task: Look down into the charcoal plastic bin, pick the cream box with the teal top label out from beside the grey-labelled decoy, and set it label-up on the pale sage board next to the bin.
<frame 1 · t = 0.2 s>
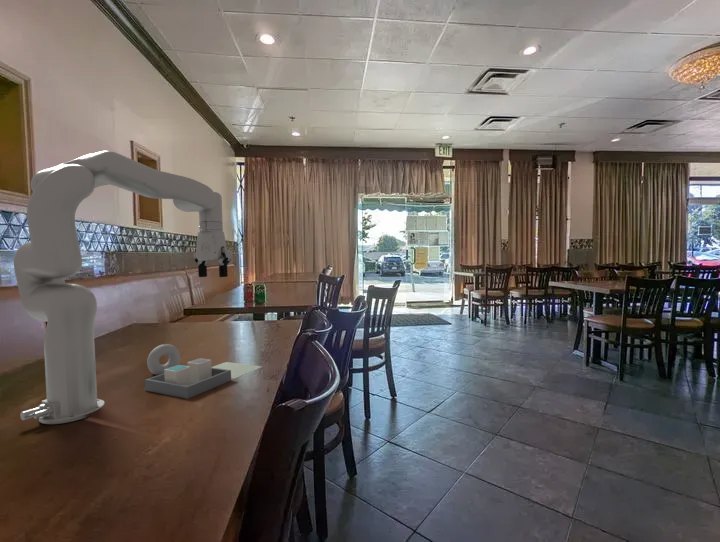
hand: (213, 276, 128), 31 cm above the table, fingers open, 9 cm apart
donut: (164, 375, 117), on the table
grey label box: (200, 381, 108), point 1 cm above the table, touching parts bin
teal label box: (178, 389, 101), point 1 cm above the table, touching parts bin
parts bin: (189, 388, 104), on the table
sage board: (229, 372, 118), on the table
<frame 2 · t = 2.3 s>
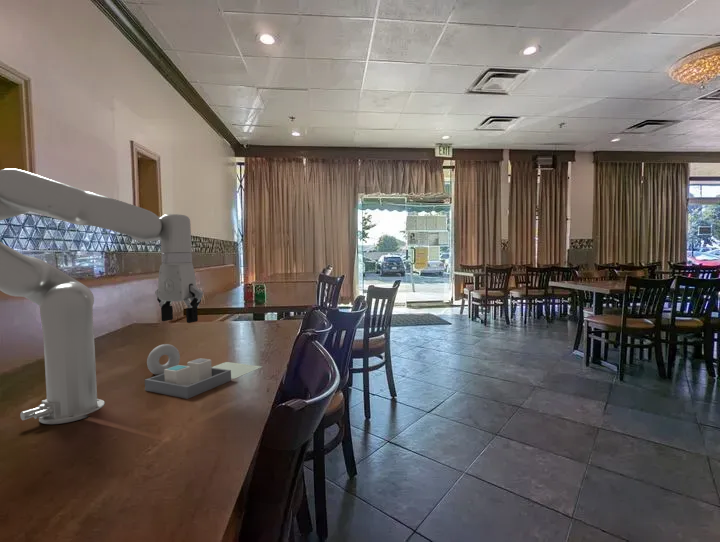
hand: (179, 321, 101), 20 cm above the table, fingers open, 9 cm apart
nothing on the table moved.
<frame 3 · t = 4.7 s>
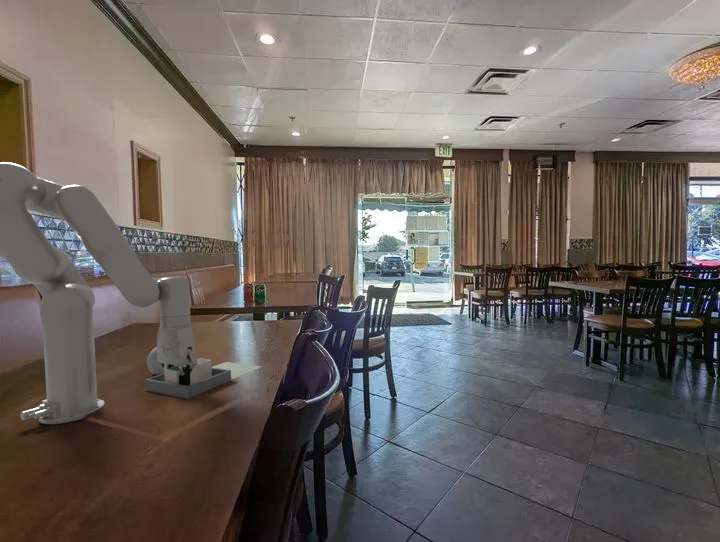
hand: (178, 386, 101), 2 cm above the table, fingers closed on teal label box, 4 cm apart
teal label box: (178, 389, 101), point 1 cm above the table, touching gripper, parts bin
everything else where it was.
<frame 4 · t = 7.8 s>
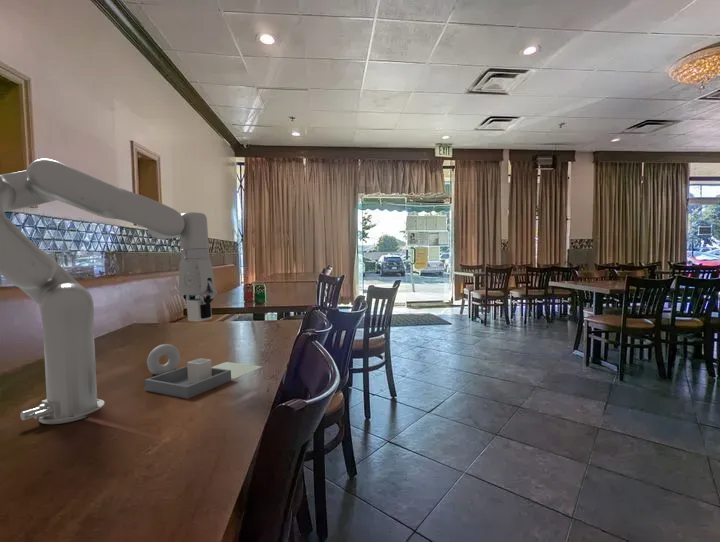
hand: (199, 316, 107), 20 cm above the table, fingers closed on teal label box, 4 cm apart
teal label box: (200, 319, 107), point 19 cm above the table, touching gripper
everything else where it was.
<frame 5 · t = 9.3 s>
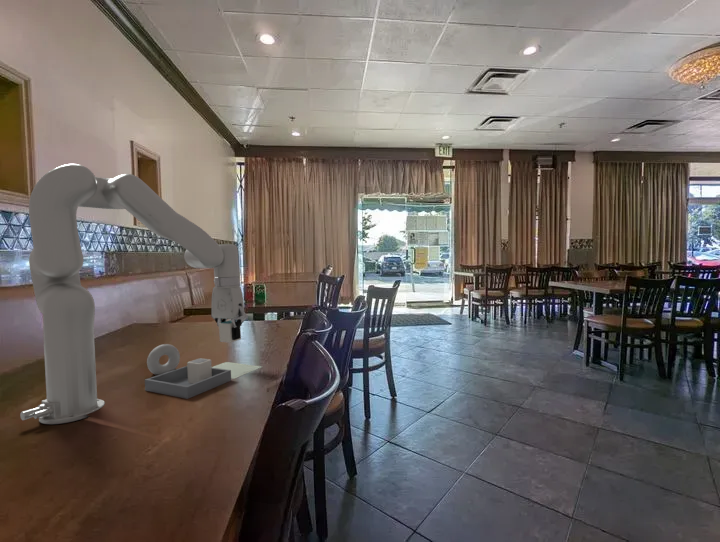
hand: (230, 338, 118), 11 cm above the table, fingers closed on teal label box, 4 cm apart
teal label box: (230, 340, 118), point 10 cm above the table, touching gripper
everything else where it was.
when the fingers open (3 cm above the table, at t = 10.9 s): teal label box stays where it is, resting on sage board.
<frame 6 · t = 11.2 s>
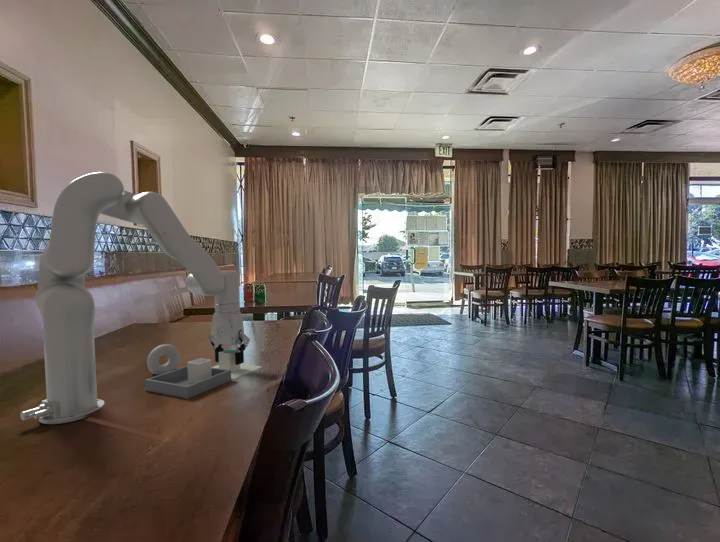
hand: (229, 362, 118), 3 cm above the table, fingers open, 8 cm apart
teal label box: (229, 369, 118), point 1 cm above the table, touching sage board
everything else where it was.
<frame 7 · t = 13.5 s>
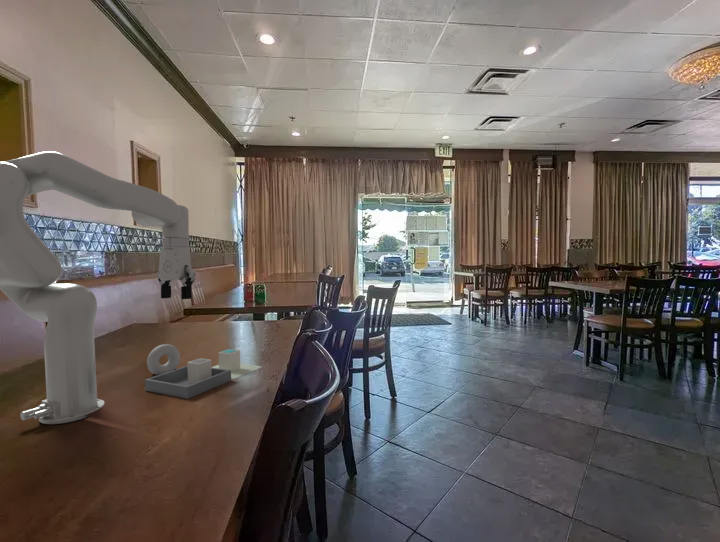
hand: (176, 298, 115), 25 cm above the table, fingers open, 9 cm apart
nothing on the table moved.
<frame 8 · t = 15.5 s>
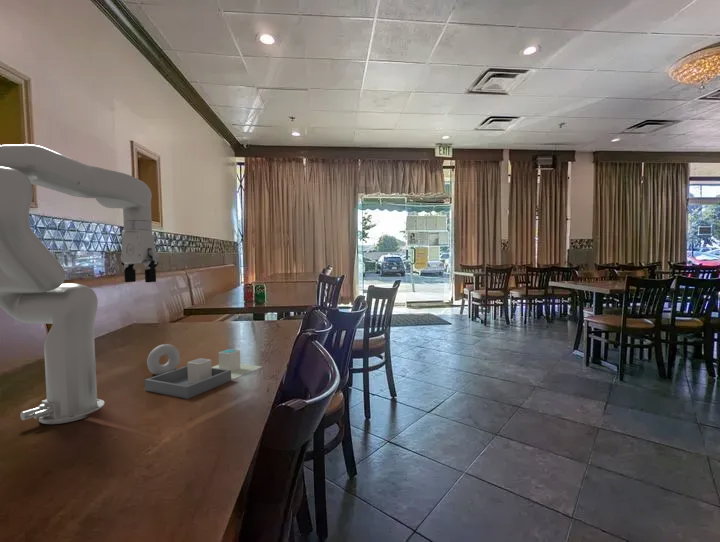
hand: (140, 282, 114), 30 cm above the table, fingers open, 9 cm apart
nothing on the table moved.
at the end: teal label box inside the target area on the sage board (0.0 cm from its centre), point 1.0 cm above the sage board's base; teal label box tilted 0°; grey label box moved 0.0 cm from its start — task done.
